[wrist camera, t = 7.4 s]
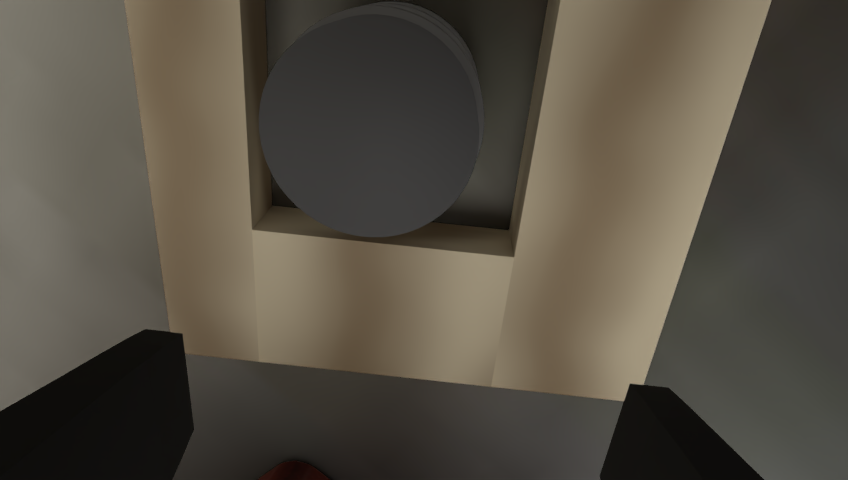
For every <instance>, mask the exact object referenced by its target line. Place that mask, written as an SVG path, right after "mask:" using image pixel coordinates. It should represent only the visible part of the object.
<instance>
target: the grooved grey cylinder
mask: <svg viewBox="0 0 848 480" xmlns="http://www.w3.org/2000/svg"><path fill="white" fill-rule="evenodd" d="M483 132H484V107H483V99H482V94H481V88H480V83H479V78H478V73H477V69H476V65H475V62H474V59H473V57H472V54H471V52H470V50H469V48H468V46H467V45H466V43H465V41H464V40H463V39H462V37H461V36H460V34H459V33H458V32H457V31H456V30H455V29H454V28H453V27H452V26H451V25H450V24H449V23H448V22H447V21H445V20H444V19H443V18H442V17H440V16H439V15H437V14H435V13H434V12H432V11H430V10H428V9H426V8H423V7H421V6H419V5H415V4H411V3H407V2H399V1H383V2H377V3H371V4H368V5H363V6H359V7H356V8H350V9H346V10H343V11H340V12H337V13H334V14H332V15H330V16H328V17H326V18H324V19H322V20H320V21H318V22H317V23H315V24H314V25H312V26H311V27H310V28H308V29H307V30H306V31H305V32H304V33H303V34H302V35H301V36H300V37H298V38H297V40H296V41H295V42H294V43H293V44H292V45H291V46H290V47H289V48H288V49H287V50H286V51H285V52H284V53H283V55H282V56H281V57H280V58H279V60H278V61H277V62H276V64H275V65H274V67H273V69H272V71H271V72H270V74H269V76H268V79H267V81H266V84H265V86H264V89H263V93H262V97H261V101H260V108H259V135H260V141H261V146H262V150H263V153H264V157H265V160H266V162H267V164H268V167H269V169H270V171H271V173H272V175H273V177H274V178H275V180H276V182H277V184H278V185H279V186H280V188H281V189H282V190H283V192H284V193H285V194H286V196H287V197H288V198H289V199H290V200H291V201H292V202H293V203H294V204H295V205H296V206H297V207H298V208H299V209H301V210H302V211H303V212H304V213H305V214H307V215H308V216H310V217H311V218H313V219H314V220H316V221H317V222H319V223H321V224H323V225H325V226H327V227H329V228H332V229H334V230H337V231H340V232H342V233H347V234H351V235H355V236H362V237H388V236H396V235H400V234H404V233H408V232H410V231H413V230H416V229H418V228H421V227H422V226H424V225H426V224H428V223H430V222H432V221H433V220H435V219H436V218H437V217H439V216H440V215H441V214H443V213H444V212H445V211H446V210H447V209H448V208H449V207H450V206H451V205H452V204H453V203H454V202H455V200H456V199H457V198H458V197H459V196H460V194H461V193H462V191H463V189H464V188H465V186H466V185H467V183H468V181H469V178H470V176H471V174H472V172H473V169H474V165H475V162H476V159H477V157H478V154H479V151H480V147H481V144H482V139H483Z"/></svg>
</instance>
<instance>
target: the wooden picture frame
mask: <svg viewBox="0 0 848 480" xmlns="http://www.w3.org/2000/svg"><path fill="white" fill-rule="evenodd" d="M124 1H125V9H126V16H127V23H128V31H129V38H130V45H131V52H132V60H133V67H134V74H135V81H136V89H137V96H138V103H139V110H140V118H141V125H142V132H143V140H144V147H145V154H146V161H147V169H148V176H149V183H150V190H151V198H152V205H153V212H154V219H155V227H156V234H157V241H158V248H159V256H160V263H161V270H162V278H163V285H164V292H165V299H166V307H167V314H168V321H169V328H170V332H174V333H183V342H184V350H185V354H192V355H201V356H210V357H219V358H229V359H238V360H247V361H256V362H266V363H275V364H284V365H293V366H303V367H312V368H321V369H330V370H340V371H349V372H358V373H367V374H376V375H386V376H395V377H404V378H413V379H423V380H432V381H441V382H450V383H460V384H469V385H478V386H487V387H497V388H506V389H515V390H524V391H534V392H543V393H552V394H561V395H571V396H580V397H589V398H598V399H607V400H617V401H624V400H625V397H626V394H627V391H628V388H629V385H630V384H639V385H644V382H645V379H646V376H647V373H648V370H649V367H650V364H651V361H652V358H653V355H654V352H655V349H656V346H657V343H658V340H659V337H660V334H661V331H662V328H663V325H664V322H665V319H666V316H667V313H668V310H669V307H670V304H671V301H672V298H673V295H674V292H675V289H676V286H677V283H678V280H679V277H680V274H681V271H682V268H683V265H684V262H685V259H686V256H687V253H688V250H689V247H690V244H691V241H692V238H693V235H694V232H695V229H696V226H697V223H698V220H699V217H700V214H701V211H702V208H703V205H704V202H705V199H706V196H707V193H708V190H709V187H710V184H711V181H712V178H713V175H714V172H715V169H716V166H717V163H718V160H719V157H720V154H721V151H722V148H723V145H724V142H725V139H726V136H727V133H728V130H729V127H730V124H731V121H732V118H733V115H734V112H735V109H736V106H737V103H738V100H739V97H740V94H741V91H742V88H743V85H744V82H745V79H746V76H747V73H748V70H749V67H750V64H751V61H752V58H753V55H754V52H755V49H756V46H757V43H758V40H759V37H760V34H761V31H762V28H763V25H764V22H765V19H766V16H767V13H768V10H769V7H770V4H771V1H772V0H548V4H547V9H546V15H545V21H544V27H543V33H542V39H541V45H540V50H539V56H538V62H537V68H536V74H535V80H534V86H533V91H532V97H531V103H530V109H529V115H528V121H527V127H526V132H525V138H524V144H523V150H522V156H521V162H520V168H519V173H518V179H517V185H516V191H515V197H514V203H513V209H512V214H511V220H510V226H509V230H502V229H493V228H483V227H473V226H464V225H454V224H444V223H435V222H430V223H428V224H426V225H424V226H422V227H421V228H418V229H416V230H413V231H410V232H408V233H404V234H400V235H396V236H388V237H362V236H355V235H351V234H347V233H342V232H340V231H337V230H334V229H332V228H329V227H327V226H325V225H323V224H321V223H319V222H317V221H316V220H314V219H313V218H311V217H310V216H308V215H307V214H305V213H304V212H303V211H302V210H301V209H299V208H291V207H281V206H272V183H271V171H270V169H269V167H268V164H267V162H266V160H265V157H264V153H263V150H262V146H261V141H260V135H259V108H260V101H261V97H262V93H263V89H264V86H265V84H266V81H267V79H268V70H267V41H266V13H265V0H124Z"/></svg>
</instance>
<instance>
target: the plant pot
mask: <svg viewBox="0 0 848 480" xmlns="http://www.w3.org/2000/svg"><path fill="white" fill-rule="evenodd" d="M257 480H330V479H329V478H327V477H326V476H325V475H324V474H322V473H321V472H320V471H318V470H317V469H315V468H314V467H313V466H311V465H309V464H307V463H303V462H299V461H288V462H283V463H281V464H279V465H277V466H276V467H275V468H273V469H272V470H270V471H269V472H267V473H266V474H264V475H263V476H262V477H260V478H259V479H257Z"/></svg>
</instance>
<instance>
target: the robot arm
mask: <svg viewBox="0 0 848 480" xmlns="http://www.w3.org/2000/svg"><path fill="white" fill-rule="evenodd" d="M193 430H194V426H193V417H192V409H191V401H190V392H189V384H188V375H187V367H186V359H185V350H184V342H183V333H174V332H165V331H156V330H147V329H145V330H143V331H141V332H139V333H137V334H135V335H133V336H131V337H129V338H128V339H126V340H124V341H122V342H120V343H119V344H117V345H115V346H113V347H111V348H110V349H108V350H106V351H105V352H103V353H101V354H99V355H98V356H96V357H94V358H92V359H91V360H89V361H87V362H85V363H84V364H82V365H80V366H79V367H77V368H75V369H73V370H72V371H70V372H68V373H67V374H65V375H63V376H61V377H60V378H58V379H56V380H54V381H53V382H51V383H49V384H47V385H46V386H44V387H42V388H40V389H39V390H37V391H35V392H33V393H32V394H30V395H28V396H26V397H25V398H23V399H21V400H19V401H18V402H16V403H14V404H12V405H11V406H9V407H7V408H5V409H4V410H2V411H0V480H172V479H173V476H174V474H175V472H176V470H177V468H178V465H179V463H180V461H181V459H182V456H183V454H184V452H185V449H186V447H187V444H188V442H189V440H190V437H191V435H192V433H193ZM600 479H601V480H764V479H763V478H762V477H761V476H760V475H759V474H758V473H757V472H756V471H755V470H754V469H753V468H752V467H750V466H749V465H748V464H747V463H746V462H745V461H744V460H743V459H742V458H741V457H740V456H739V455H738V454H737V453H736V452H735V451H734V450H733V449H732V448H731V447H730V446H729V445H728V444H727V443H726V442H725V441H724V440H723V439H722V438H721V437H720V436H719V435H718V434H717V433H716V432H715V431H714V430H713V429H712V428H710V427H709V426H708V425H707V424H706V423H705V422H704V421H703V420H702V419H701V418H700V417H699V416H698V415H697V414H696V413H695V412H694V411H693V410H692V409H691V408H690V407H689V406H688V405H687V404H686V403H685V402H684V401H682V400H681V399H680V398H679V397H678V396H677V395H676V394H675V393H674V392H673V391H671V390H670V389H669V388H666V387H657V386H648V385H639V384H630V385H629V388H628V391H627V394H626V397H625V400H624V403H623V406H622V409H621V412H620V415H619V419H618V422H617V425H616V428H615V431H614V434H613V437H612V440H611V443H610V446H609V449H608V452H607V455H606V458H605V461H604V464H603V468H602V471H601V474H600Z"/></svg>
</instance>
